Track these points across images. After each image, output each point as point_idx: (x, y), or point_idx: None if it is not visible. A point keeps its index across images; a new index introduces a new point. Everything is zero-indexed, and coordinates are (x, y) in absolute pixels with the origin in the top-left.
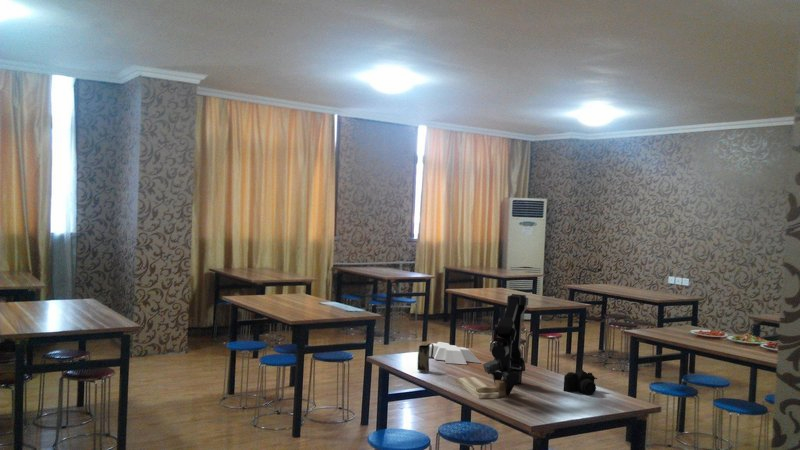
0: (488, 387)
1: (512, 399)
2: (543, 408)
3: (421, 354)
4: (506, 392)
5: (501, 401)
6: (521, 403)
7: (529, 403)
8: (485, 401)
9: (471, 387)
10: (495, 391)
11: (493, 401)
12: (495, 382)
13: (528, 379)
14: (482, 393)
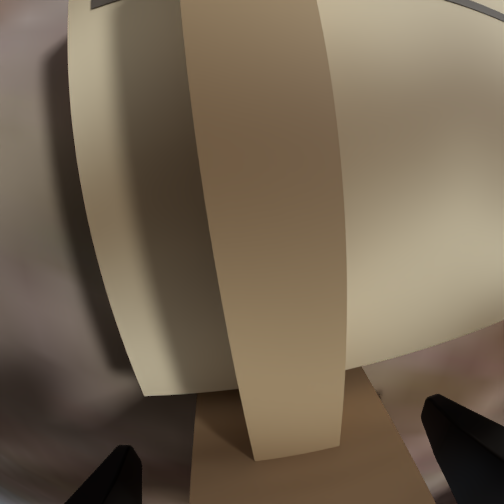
0: (269, 258)
1: None
2: (5, 488)
3: None
4: (95, 471)
5: (25, 325)
6: (37, 454)
7: (62, 489)
8: (2, 99)
9: (493, 11)
10: None
11: (4, 218)
12: (396, 493)
13: None
14: (97, 42)
